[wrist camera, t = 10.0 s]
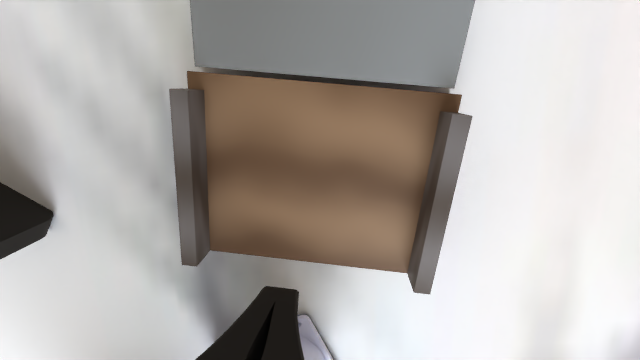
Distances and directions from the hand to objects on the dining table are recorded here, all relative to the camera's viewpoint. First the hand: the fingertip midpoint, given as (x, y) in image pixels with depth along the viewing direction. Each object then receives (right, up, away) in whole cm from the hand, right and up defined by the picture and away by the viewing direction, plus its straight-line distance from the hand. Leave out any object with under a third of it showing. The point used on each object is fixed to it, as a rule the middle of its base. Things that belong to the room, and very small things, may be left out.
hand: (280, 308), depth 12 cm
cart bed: (+1, +6, +9) cm, 11 cm away
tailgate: (+2, +11, +5) cm, 12 cm away
